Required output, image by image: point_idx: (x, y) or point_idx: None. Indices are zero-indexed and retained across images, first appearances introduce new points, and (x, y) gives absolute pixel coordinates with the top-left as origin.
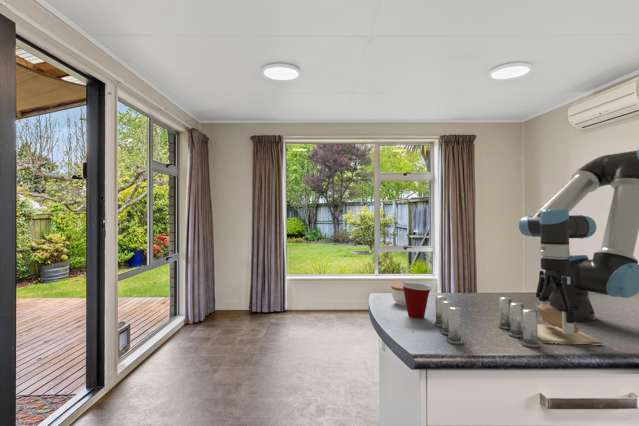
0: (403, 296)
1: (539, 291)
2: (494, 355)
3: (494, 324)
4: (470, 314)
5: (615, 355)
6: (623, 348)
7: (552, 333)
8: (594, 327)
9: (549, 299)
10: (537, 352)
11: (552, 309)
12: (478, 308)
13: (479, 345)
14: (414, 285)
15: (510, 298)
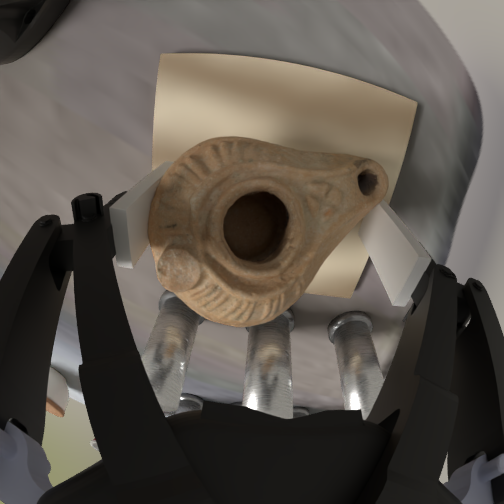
0: (67, 400)
1: (60, 303)
2: None
3: (149, 313)
4: (67, 313)
5: (474, 154)
6: (436, 53)
7: None
8: None
9: (92, 202)
10: (390, 333)
11: (291, 284)
12: (4, 259)
13: (318, 395)
14: (95, 443)
15: (156, 394)
